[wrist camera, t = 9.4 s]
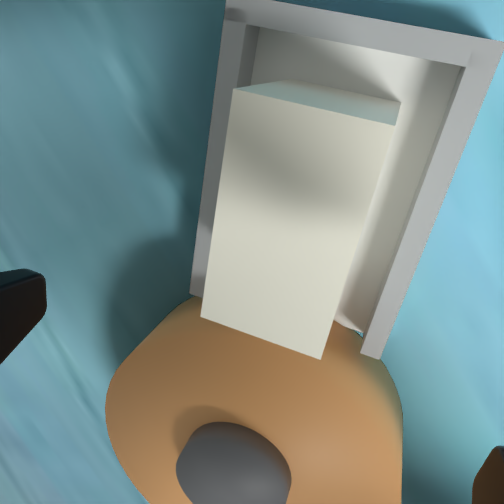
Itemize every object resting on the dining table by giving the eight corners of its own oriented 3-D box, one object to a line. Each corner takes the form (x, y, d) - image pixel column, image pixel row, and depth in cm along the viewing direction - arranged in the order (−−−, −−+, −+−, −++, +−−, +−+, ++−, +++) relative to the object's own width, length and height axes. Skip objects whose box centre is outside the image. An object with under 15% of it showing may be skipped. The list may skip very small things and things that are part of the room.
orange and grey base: (589, 60, 13) (681, 62, 9) (356, 536, 25) (343, 643, 20) (178, -14, 16) (89, -41, 12) (141, 441, 28) (89, 515, 23)
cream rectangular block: (401, 102, 15) (395, 125, 10) (346, 274, 18) (320, 359, 13) (291, 78, 16) (233, 88, 11) (258, 246, 19) (200, 316, 14)
